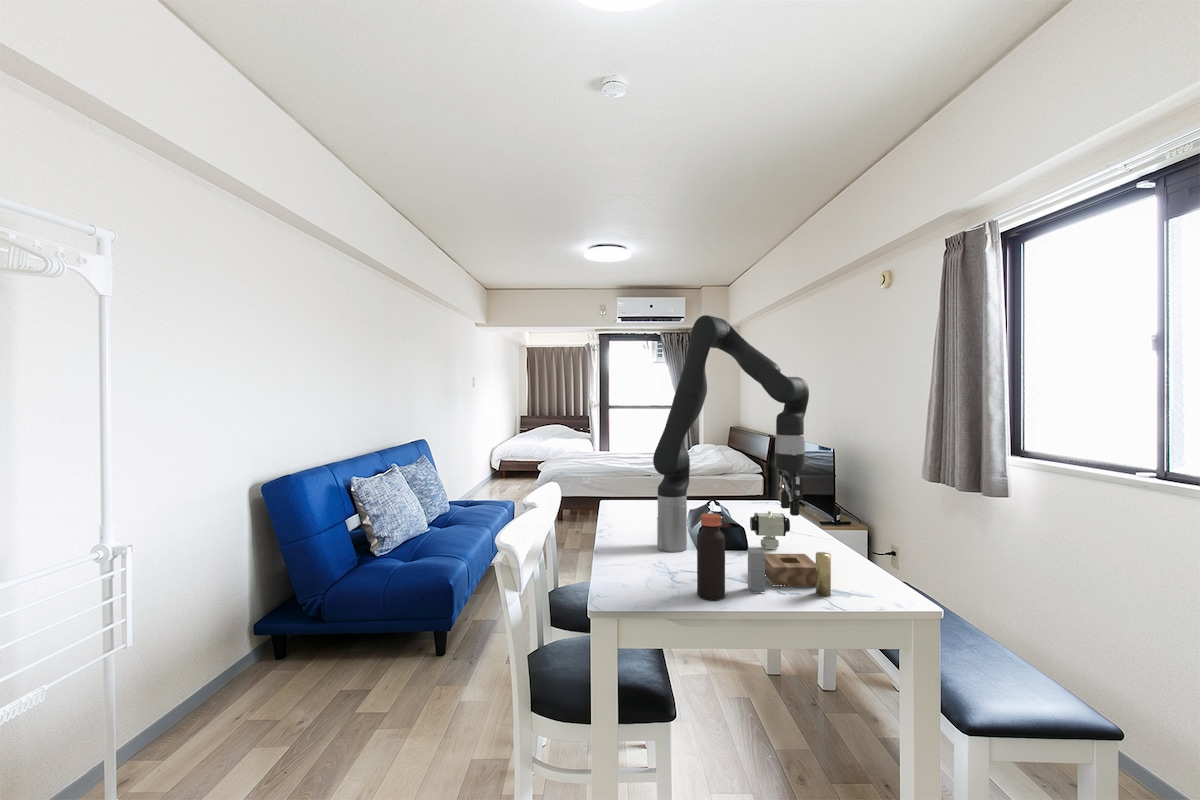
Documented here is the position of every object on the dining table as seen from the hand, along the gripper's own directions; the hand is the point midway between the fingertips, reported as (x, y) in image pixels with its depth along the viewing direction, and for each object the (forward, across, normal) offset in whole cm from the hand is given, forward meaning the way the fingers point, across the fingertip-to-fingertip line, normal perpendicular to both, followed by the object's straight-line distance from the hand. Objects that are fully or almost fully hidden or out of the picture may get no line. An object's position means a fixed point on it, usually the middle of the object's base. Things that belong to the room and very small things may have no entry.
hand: (789, 511), depth 150 cm
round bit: (+18, +11, +5) cm, 22 cm away
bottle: (+18, +13, -23) cm, 32 cm away
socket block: (+18, 0, 0) cm, 18 cm away
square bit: (+18, +9, -11) cm, 23 cm away
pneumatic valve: (+18, -28, +2) cm, 34 cm away
